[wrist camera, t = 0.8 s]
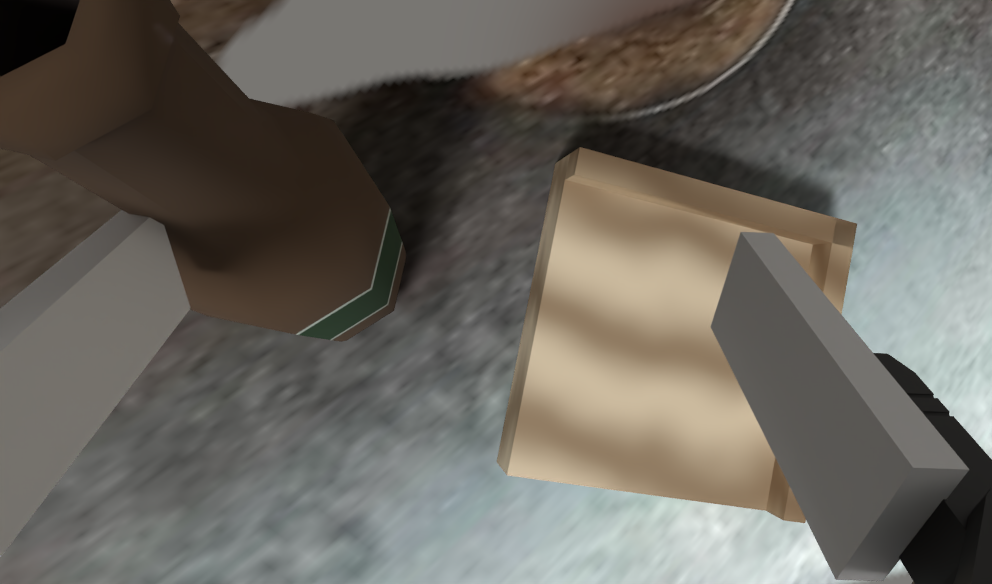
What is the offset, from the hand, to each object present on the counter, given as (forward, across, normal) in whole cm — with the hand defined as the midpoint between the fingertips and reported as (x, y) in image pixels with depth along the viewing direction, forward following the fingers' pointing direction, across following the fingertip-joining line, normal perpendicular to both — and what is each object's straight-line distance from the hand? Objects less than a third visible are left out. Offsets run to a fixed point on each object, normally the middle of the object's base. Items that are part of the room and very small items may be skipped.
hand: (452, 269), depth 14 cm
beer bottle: (+15, -7, -10) cm, 19 cm away
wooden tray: (+16, +12, -15) cm, 25 cm away
